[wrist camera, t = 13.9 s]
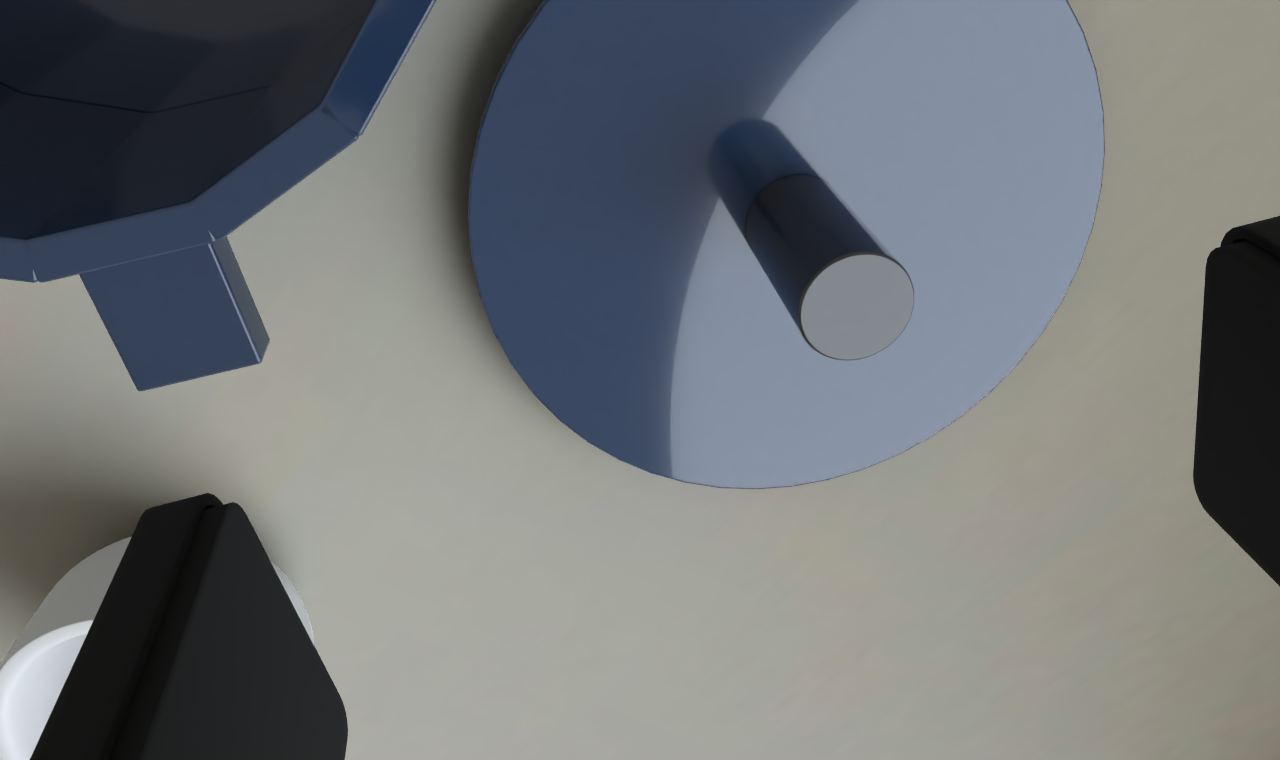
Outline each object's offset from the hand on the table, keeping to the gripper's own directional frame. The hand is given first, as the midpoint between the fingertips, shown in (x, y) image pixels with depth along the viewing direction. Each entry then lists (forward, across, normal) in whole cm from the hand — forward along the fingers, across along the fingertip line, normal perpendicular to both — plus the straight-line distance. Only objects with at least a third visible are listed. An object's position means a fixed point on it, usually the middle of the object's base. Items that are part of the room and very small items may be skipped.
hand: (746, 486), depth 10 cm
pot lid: (+17, -4, +5) cm, 19 cm away
